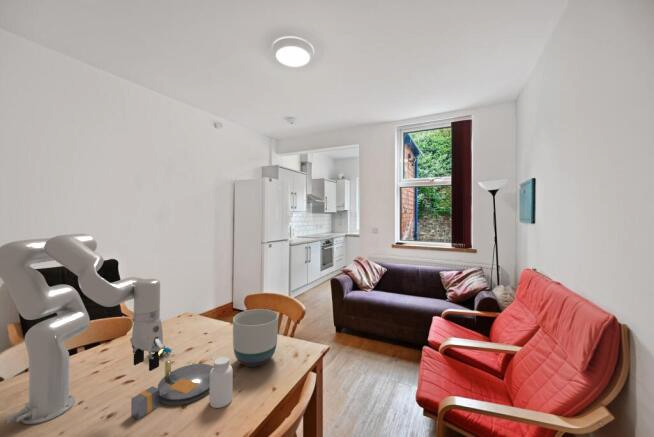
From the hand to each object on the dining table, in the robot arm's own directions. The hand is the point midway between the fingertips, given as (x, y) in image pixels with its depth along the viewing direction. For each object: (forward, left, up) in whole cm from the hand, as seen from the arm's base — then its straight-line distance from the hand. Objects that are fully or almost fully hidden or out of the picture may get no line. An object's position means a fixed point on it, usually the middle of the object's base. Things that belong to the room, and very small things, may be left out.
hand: (146, 365), depth 91 cm
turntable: (+15, -2, -14) cm, 21 cm away
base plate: (+16, -2, -16) cm, 22 cm away
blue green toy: (+25, +30, -16) cm, 42 cm away
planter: (+41, -15, -16) cm, 46 cm away
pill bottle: (+15, -20, -16) cm, 29 cm away
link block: (0, 0, -16) cm, 16 cm away
